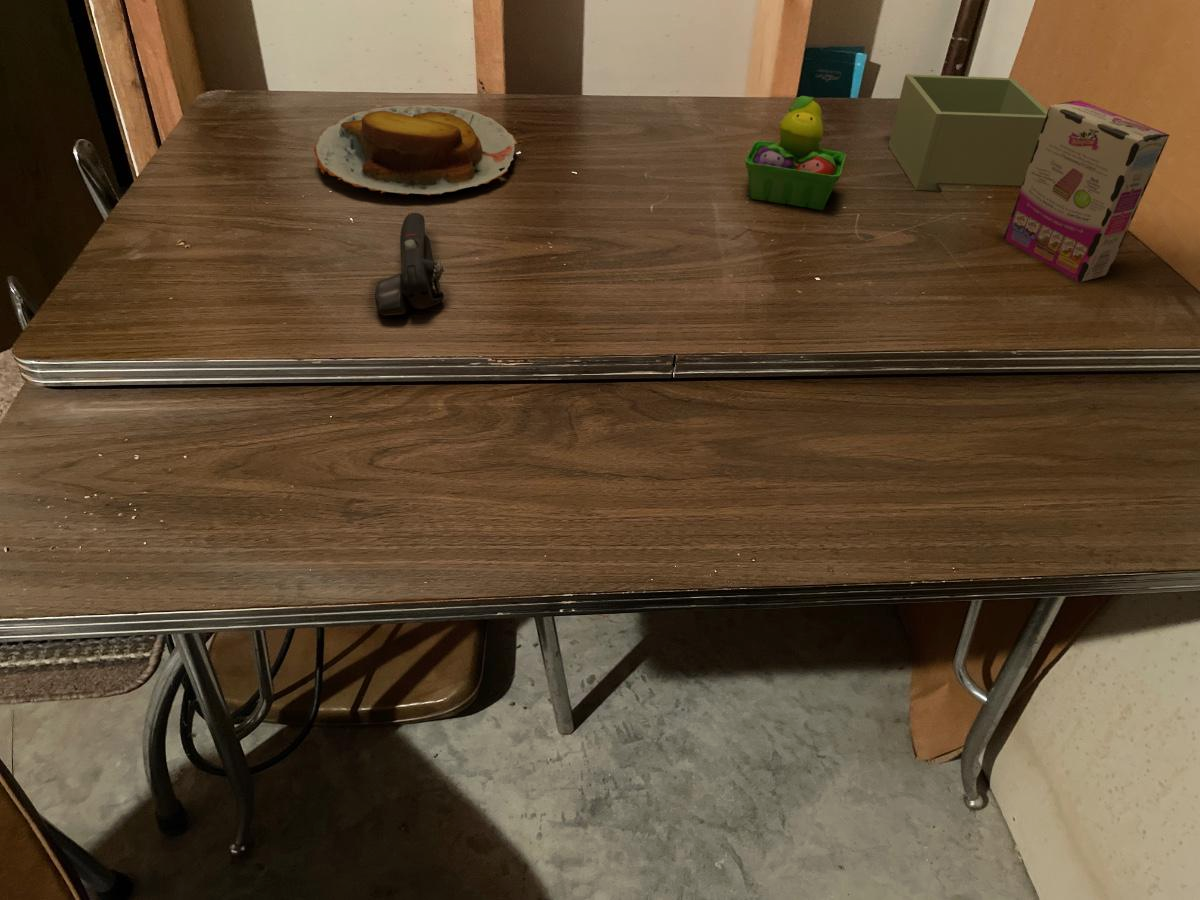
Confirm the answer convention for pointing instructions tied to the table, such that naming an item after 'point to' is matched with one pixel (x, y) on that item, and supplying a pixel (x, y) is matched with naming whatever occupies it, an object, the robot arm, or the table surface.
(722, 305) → the table surface
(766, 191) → the fruit basket
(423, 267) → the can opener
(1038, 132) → the waste bin
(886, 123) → the table surface
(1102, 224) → the candy bar box
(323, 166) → the food on plate
